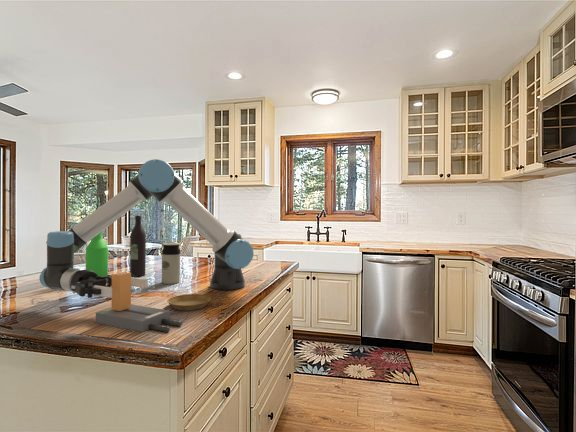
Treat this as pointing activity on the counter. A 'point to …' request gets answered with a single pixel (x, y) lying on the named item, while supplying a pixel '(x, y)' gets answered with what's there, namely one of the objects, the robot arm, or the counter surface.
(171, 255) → the travel mug
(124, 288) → the breaker handle
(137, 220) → the wine bottle
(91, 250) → the bottle
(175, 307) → the plant saucer
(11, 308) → the counter surface
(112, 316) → the switch box
